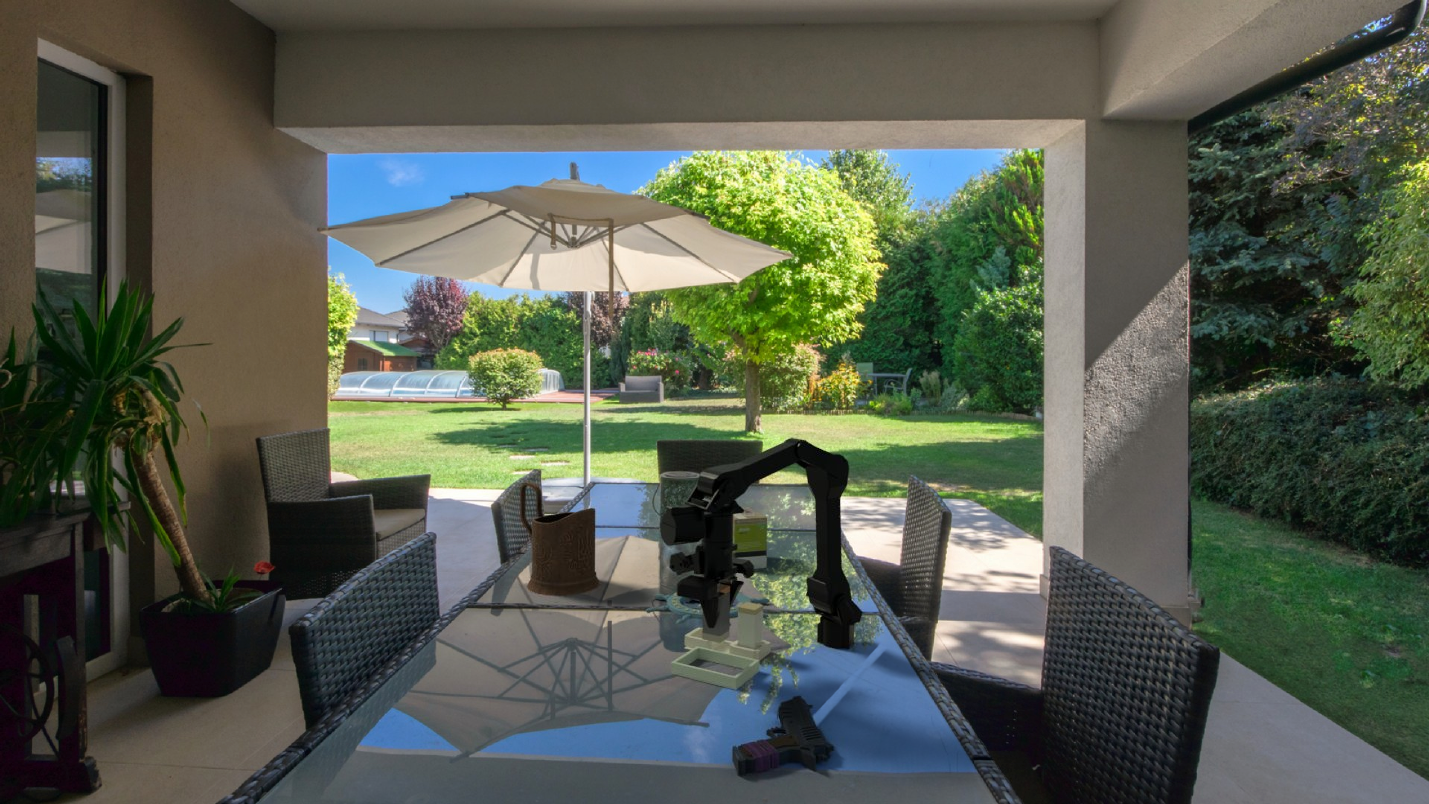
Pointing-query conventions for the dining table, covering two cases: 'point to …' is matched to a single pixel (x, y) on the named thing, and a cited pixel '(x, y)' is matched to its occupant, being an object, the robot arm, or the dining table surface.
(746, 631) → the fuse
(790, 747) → the handgun
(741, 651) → the fuse block
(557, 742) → the dining table surface
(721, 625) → the block
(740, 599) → the decorative ship wheel
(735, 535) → the tea box
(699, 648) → the tray
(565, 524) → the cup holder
